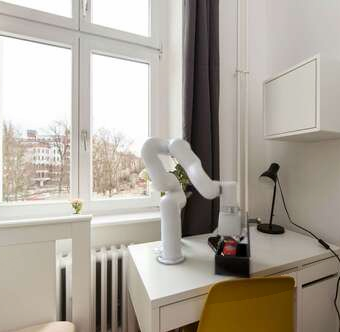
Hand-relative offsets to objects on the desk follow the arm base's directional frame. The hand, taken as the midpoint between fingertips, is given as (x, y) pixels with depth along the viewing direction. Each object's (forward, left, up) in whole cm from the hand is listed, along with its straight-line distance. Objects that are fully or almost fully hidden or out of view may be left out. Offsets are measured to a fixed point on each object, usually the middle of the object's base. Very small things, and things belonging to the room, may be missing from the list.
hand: (230, 250), depth 96 cm
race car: (0, 0, -1) cm, 1 cm away
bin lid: (+7, 0, +8) cm, 11 cm away
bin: (+1, 0, -7) cm, 7 cm away
